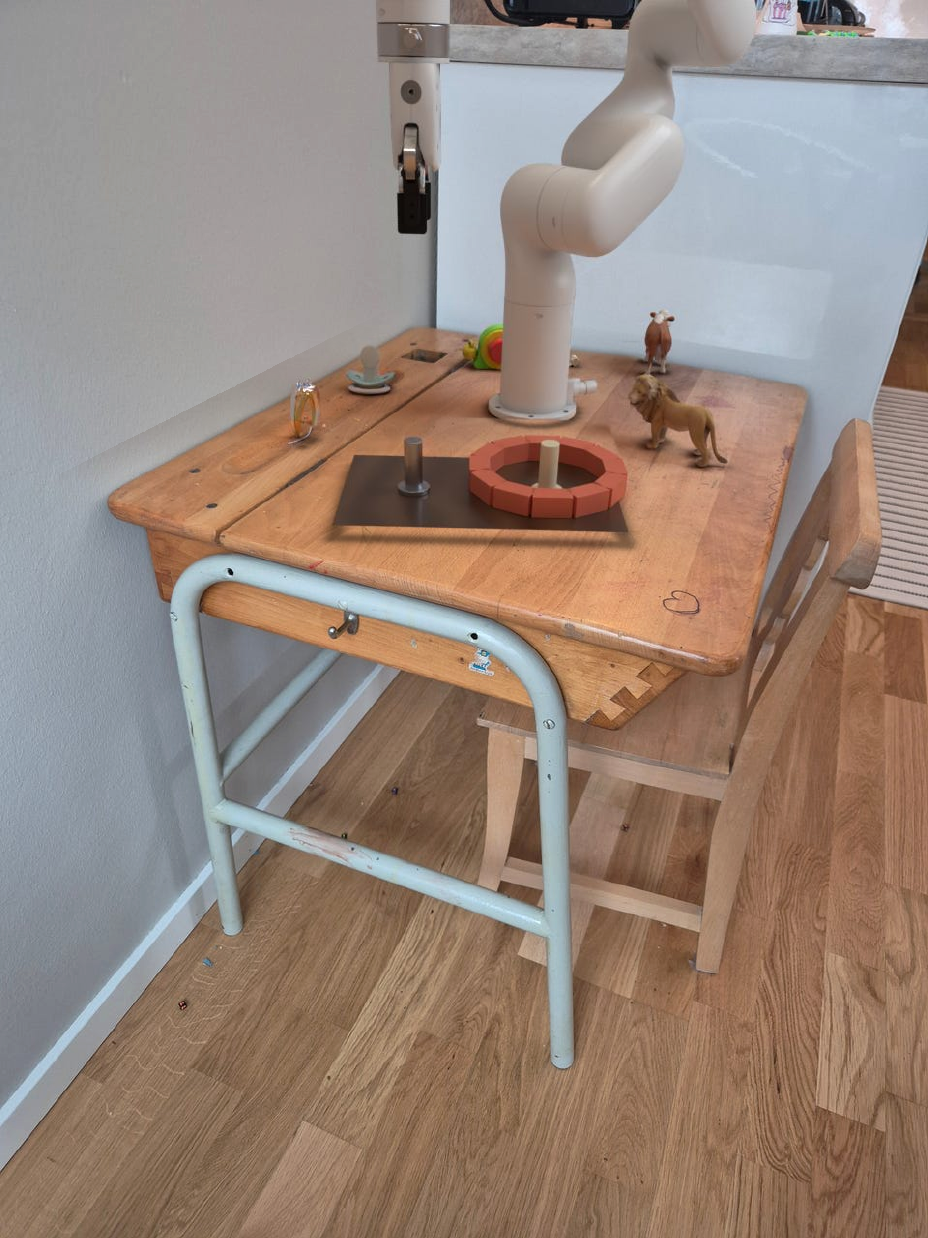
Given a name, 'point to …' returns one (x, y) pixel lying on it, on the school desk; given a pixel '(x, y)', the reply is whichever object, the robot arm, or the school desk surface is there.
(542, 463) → the cream post
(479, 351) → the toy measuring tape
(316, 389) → the ring
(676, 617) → the school desk surface
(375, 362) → the pacifier
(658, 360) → the bull figurine
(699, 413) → the lion figurine
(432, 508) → the board
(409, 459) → the steel post
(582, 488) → the ring
